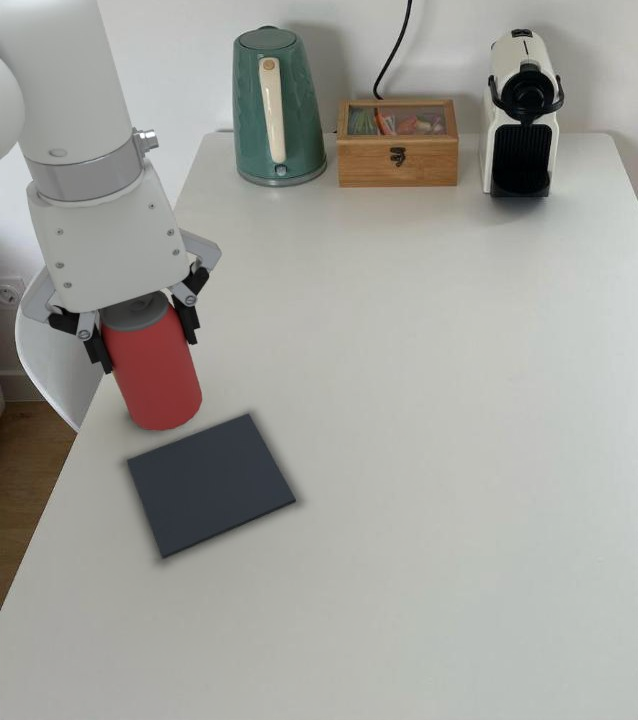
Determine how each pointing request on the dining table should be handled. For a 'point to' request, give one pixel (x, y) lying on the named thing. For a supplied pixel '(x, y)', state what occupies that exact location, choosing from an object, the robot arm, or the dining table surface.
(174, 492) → the mat
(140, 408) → the beer can
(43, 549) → the dining table surface
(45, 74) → the robot arm
